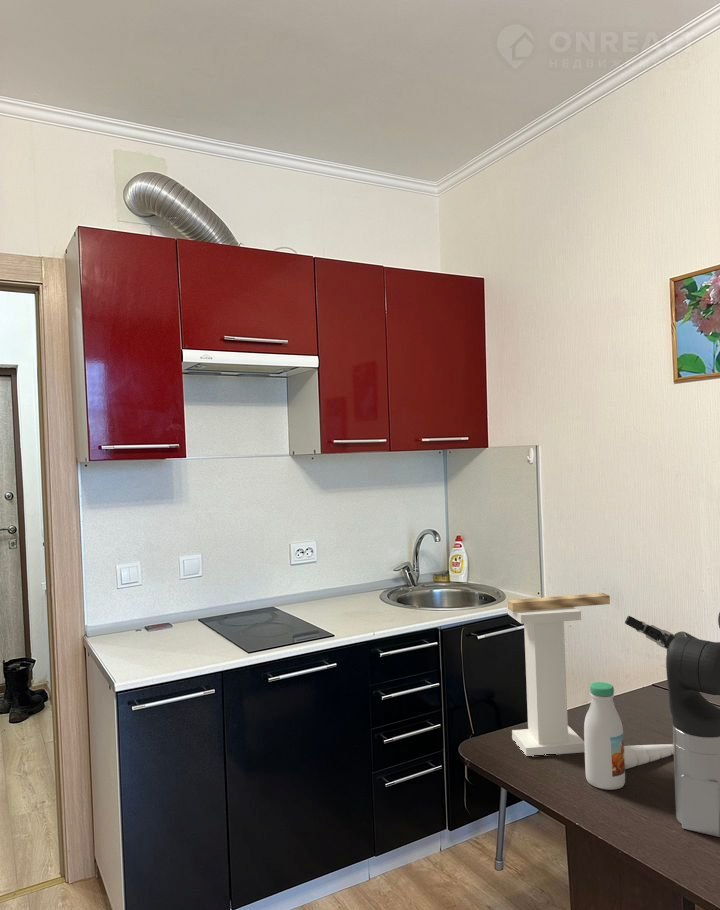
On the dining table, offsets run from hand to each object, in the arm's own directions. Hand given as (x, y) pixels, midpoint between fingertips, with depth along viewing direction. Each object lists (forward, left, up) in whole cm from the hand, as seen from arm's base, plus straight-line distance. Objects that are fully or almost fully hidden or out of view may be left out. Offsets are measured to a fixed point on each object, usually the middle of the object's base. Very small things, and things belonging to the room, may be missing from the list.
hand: (635, 623), depth 162 cm
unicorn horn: (-10, -4, -28) cm, 30 cm away
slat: (-11, +15, +5) cm, 19 cm away
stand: (-14, +18, -27) cm, 35 cm away
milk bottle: (-25, +2, -27) cm, 37 cm away
